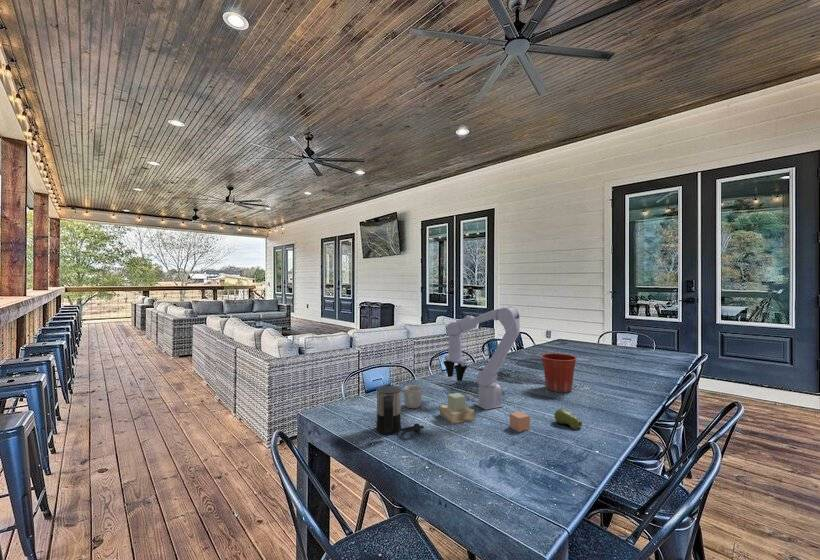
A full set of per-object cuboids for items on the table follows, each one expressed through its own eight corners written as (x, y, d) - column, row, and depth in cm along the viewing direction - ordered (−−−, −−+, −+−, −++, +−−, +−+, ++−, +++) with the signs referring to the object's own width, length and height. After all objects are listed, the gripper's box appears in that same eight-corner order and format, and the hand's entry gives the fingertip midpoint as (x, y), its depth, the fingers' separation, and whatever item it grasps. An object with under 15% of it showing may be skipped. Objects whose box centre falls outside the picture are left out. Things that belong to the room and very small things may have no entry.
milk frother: (373, 426, 138) (373, 386, 137) (413, 420, 143) (413, 382, 143) (383, 442, 124) (383, 398, 124) (427, 435, 130) (427, 393, 129)
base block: (461, 412, 153) (461, 402, 153) (474, 421, 144) (474, 410, 144) (439, 415, 149) (440, 405, 149) (452, 424, 140) (452, 414, 140)
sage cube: (458, 405, 150) (458, 392, 150) (465, 409, 146) (465, 396, 146) (447, 407, 148) (447, 394, 148) (454, 411, 144) (454, 398, 144)
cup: (419, 413, 151) (419, 393, 151) (400, 411, 153) (400, 392, 153) (423, 404, 162) (423, 385, 162) (405, 402, 163) (405, 384, 163)
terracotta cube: (520, 424, 140) (520, 411, 140) (529, 429, 135) (529, 415, 135) (509, 427, 138) (509, 413, 138) (519, 432, 133) (519, 418, 133)
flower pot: (533, 386, 188) (533, 354, 188) (557, 382, 195) (558, 352, 195) (559, 396, 173) (559, 361, 173) (584, 391, 180) (584, 358, 180)
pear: (560, 405, 145) (585, 417, 137) (558, 418, 146) (583, 430, 138) (552, 408, 141) (578, 420, 134) (550, 421, 142) (575, 434, 134)
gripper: (439, 346, 172) (438, 375, 172) (456, 352, 159) (456, 384, 159) (451, 345, 175) (451, 374, 176) (470, 350, 162) (469, 381, 163)
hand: (454, 378), depth 168 cm, fingers open, 7 cm apart
